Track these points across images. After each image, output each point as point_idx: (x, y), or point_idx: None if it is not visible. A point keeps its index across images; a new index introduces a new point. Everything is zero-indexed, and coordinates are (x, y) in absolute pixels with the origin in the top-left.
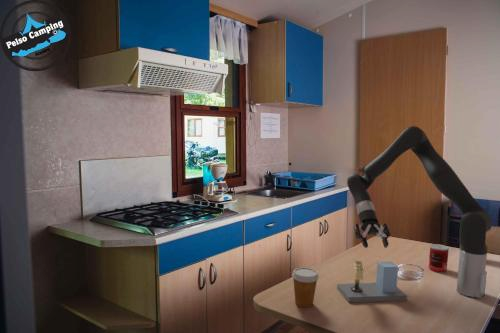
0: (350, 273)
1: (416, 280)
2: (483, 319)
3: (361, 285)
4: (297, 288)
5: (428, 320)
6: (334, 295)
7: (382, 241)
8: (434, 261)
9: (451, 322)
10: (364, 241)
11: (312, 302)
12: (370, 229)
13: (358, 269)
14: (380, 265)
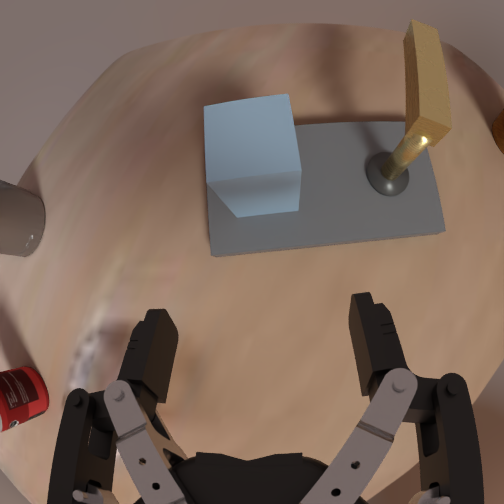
0: (342, 396)
1: (102, 320)
2: (88, 89)
3: (358, 216)
4: None
5: (210, 53)
6: (448, 179)
7: (167, 389)
8: (21, 387)
9: (161, 57)
10: (386, 335)
11: (496, 120)
12: (281, 498)
13: (430, 36)
14: (295, 135)
